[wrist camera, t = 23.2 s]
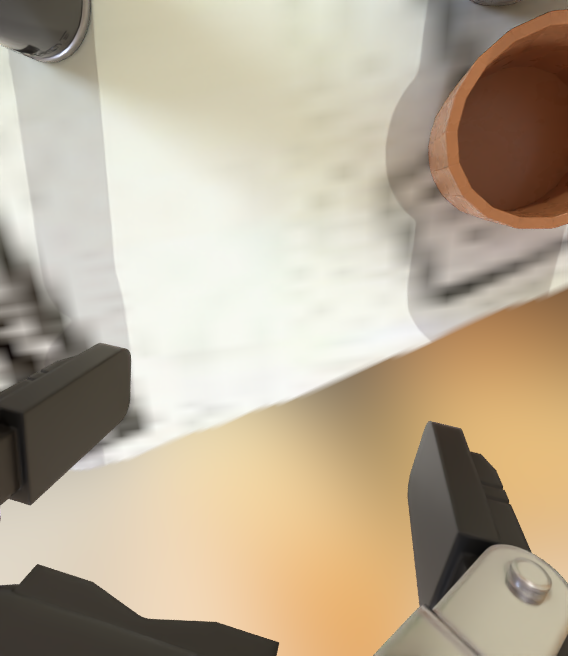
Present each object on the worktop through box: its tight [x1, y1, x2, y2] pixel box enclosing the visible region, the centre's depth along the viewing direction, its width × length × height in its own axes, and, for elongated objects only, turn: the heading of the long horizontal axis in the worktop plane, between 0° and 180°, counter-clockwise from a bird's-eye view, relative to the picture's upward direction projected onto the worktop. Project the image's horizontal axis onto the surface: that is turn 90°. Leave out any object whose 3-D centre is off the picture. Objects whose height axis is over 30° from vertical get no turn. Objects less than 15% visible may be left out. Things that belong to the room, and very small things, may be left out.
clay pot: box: [428, 9, 568, 229], centre depth 29 cm, size 12×12×10 cm
